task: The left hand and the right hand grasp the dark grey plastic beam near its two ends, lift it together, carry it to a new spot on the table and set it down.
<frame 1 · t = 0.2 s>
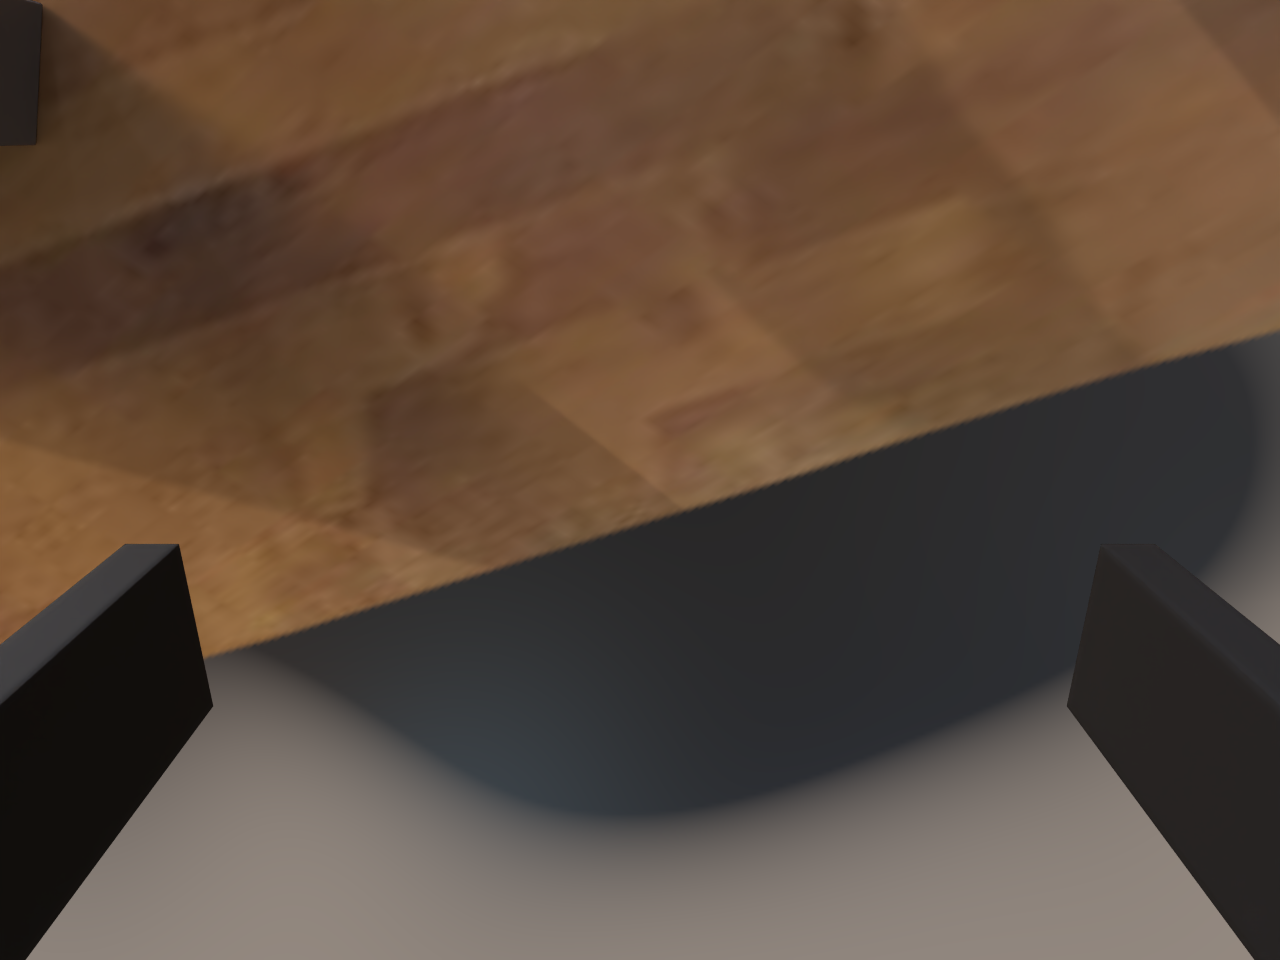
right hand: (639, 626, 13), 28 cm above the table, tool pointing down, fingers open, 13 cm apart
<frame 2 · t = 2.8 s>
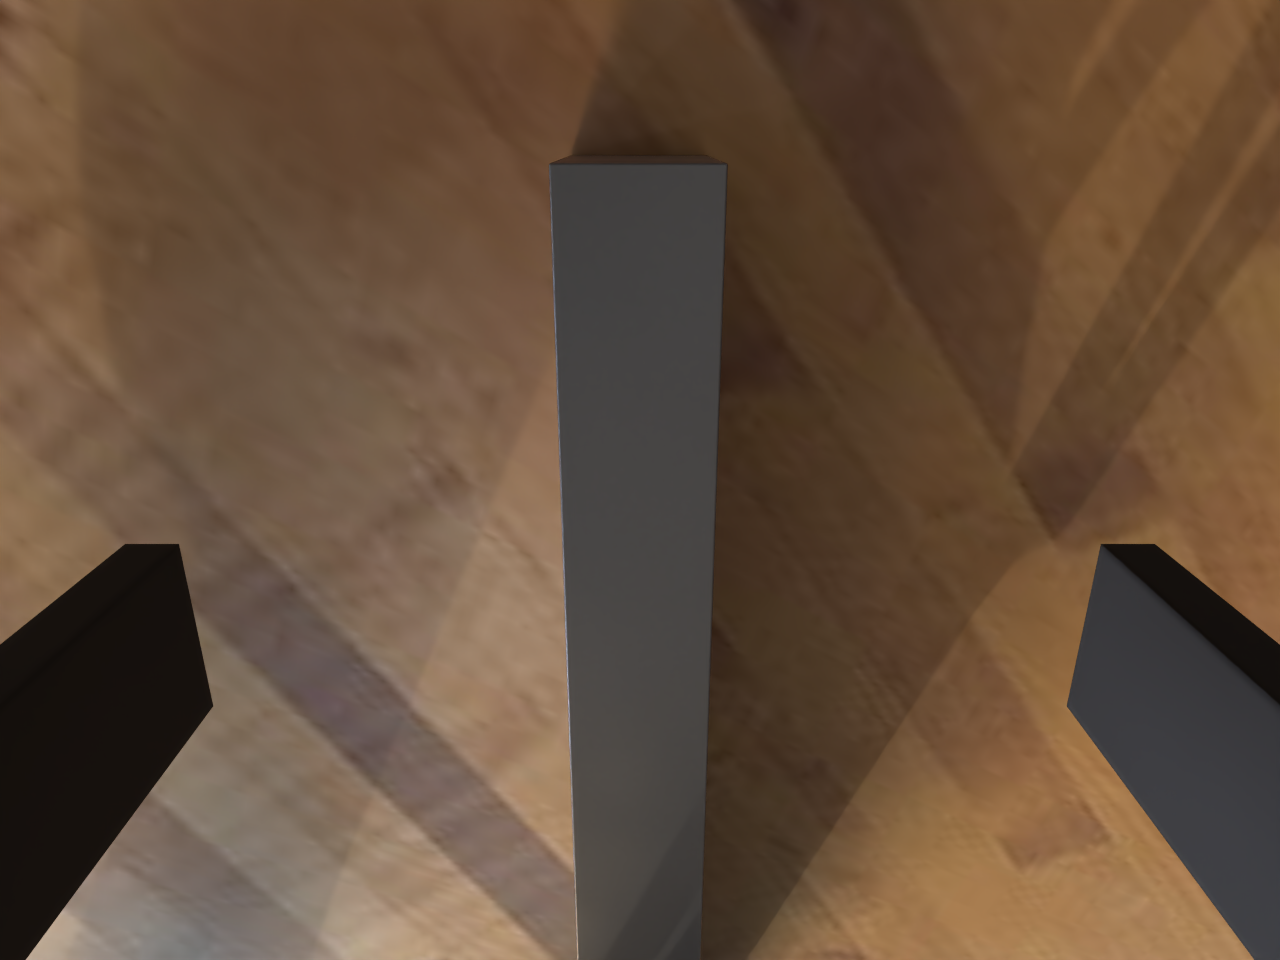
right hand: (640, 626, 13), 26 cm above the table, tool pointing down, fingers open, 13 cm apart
beam: (638, 701, 44), on the table, touching left hand
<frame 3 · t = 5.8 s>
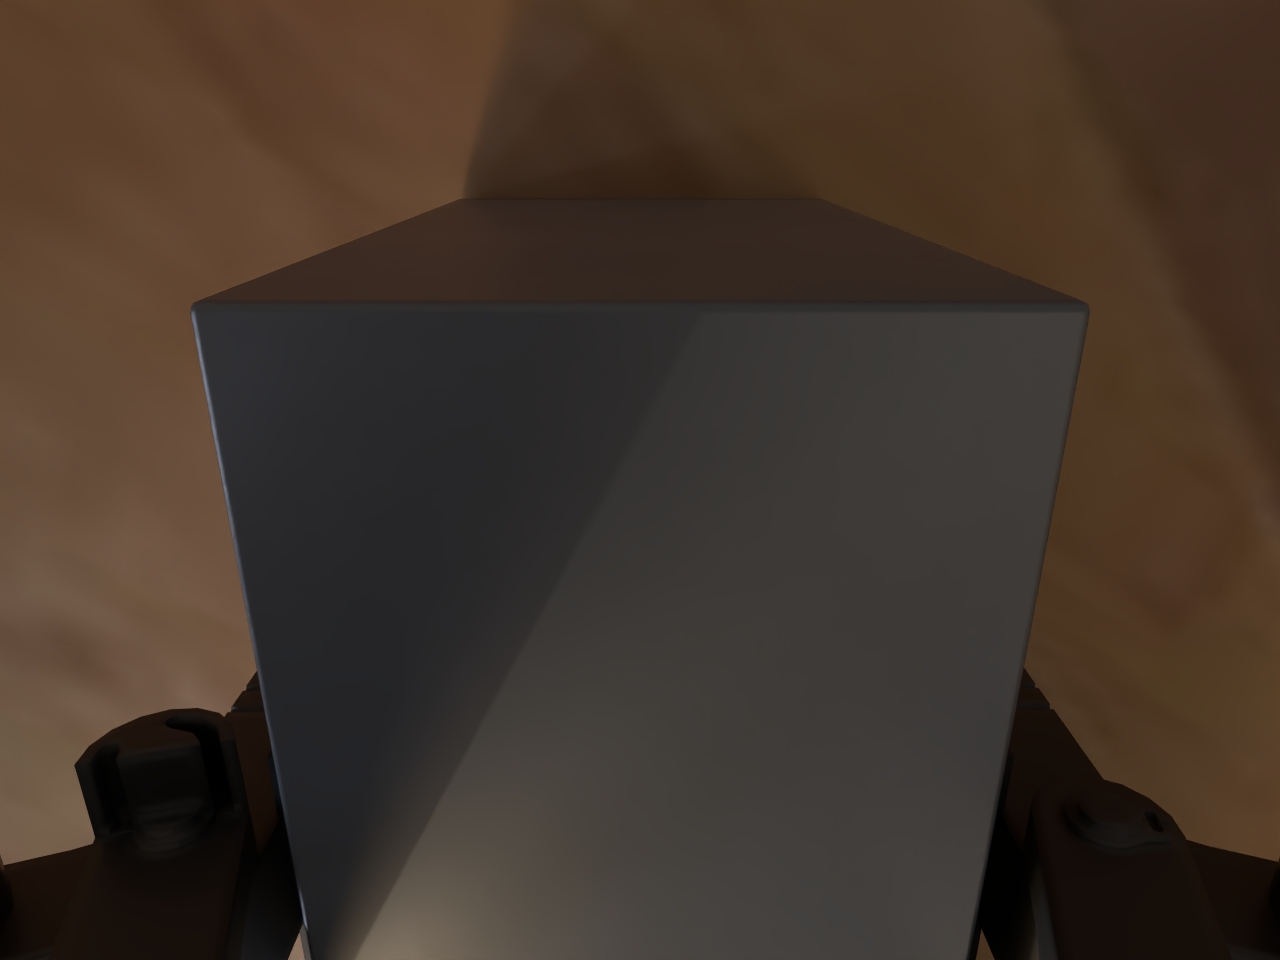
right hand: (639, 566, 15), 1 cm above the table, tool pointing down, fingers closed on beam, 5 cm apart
when the left hand's fingers open (1 cm above the table, at t = 12.7 s): beam stays where it is, on the table.
when the right hand's fingers open (1 cm above the table, at t = 12.7 s): beam stays where it is, on the table.
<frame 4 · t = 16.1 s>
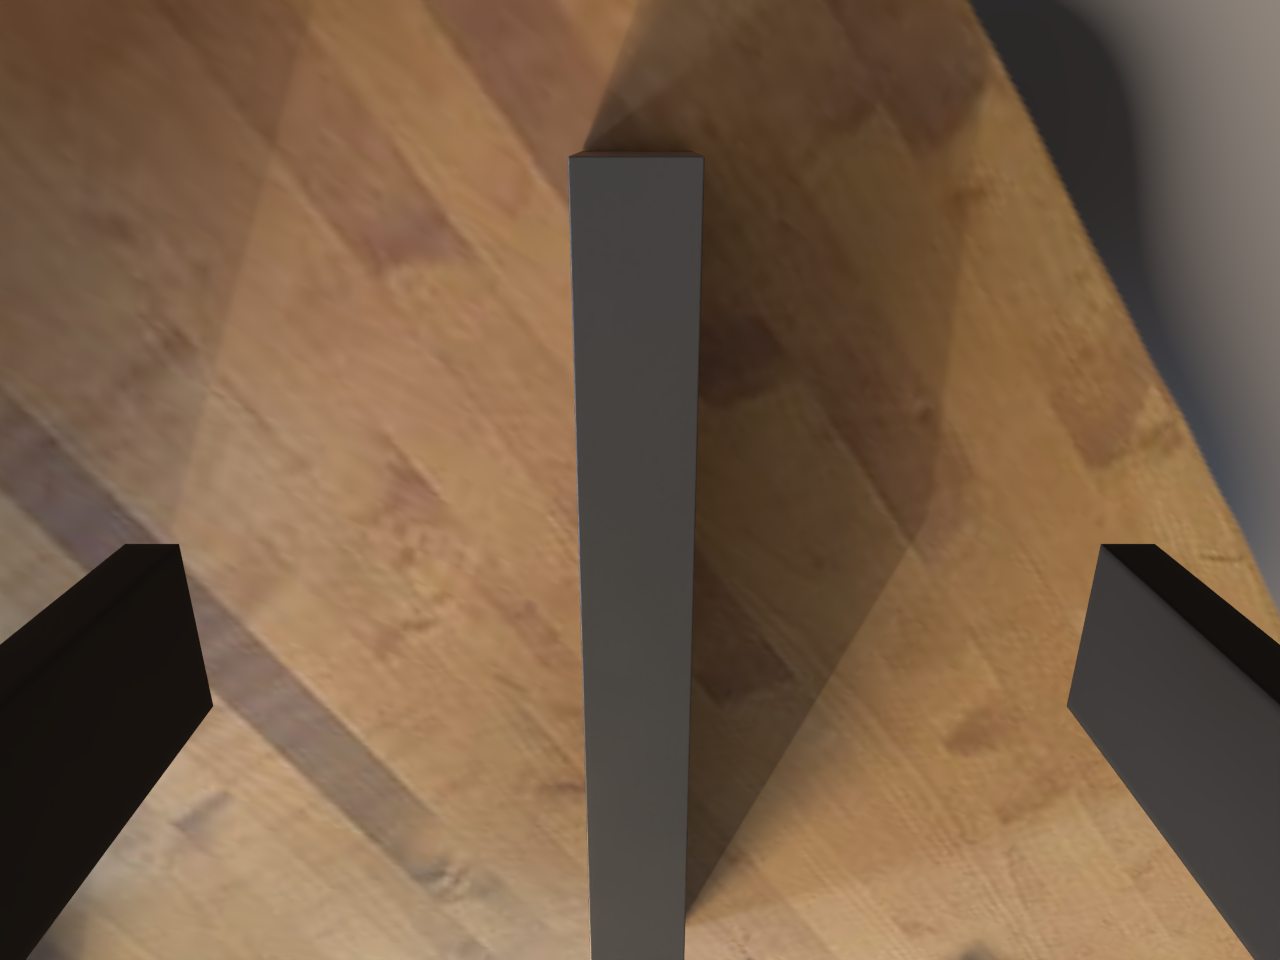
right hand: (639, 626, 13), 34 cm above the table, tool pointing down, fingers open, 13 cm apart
beam: (637, 611, 52), on the table
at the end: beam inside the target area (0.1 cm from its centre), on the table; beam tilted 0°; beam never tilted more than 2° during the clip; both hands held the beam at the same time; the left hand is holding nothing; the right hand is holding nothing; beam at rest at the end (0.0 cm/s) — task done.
